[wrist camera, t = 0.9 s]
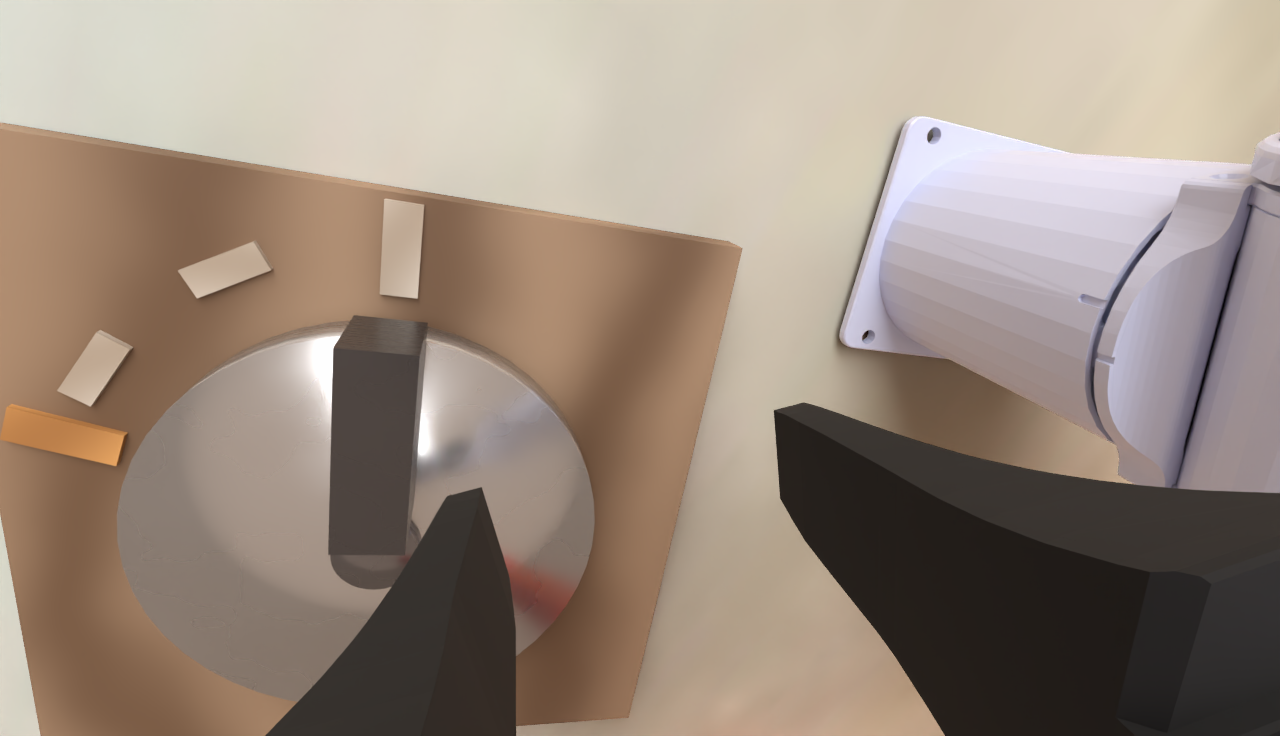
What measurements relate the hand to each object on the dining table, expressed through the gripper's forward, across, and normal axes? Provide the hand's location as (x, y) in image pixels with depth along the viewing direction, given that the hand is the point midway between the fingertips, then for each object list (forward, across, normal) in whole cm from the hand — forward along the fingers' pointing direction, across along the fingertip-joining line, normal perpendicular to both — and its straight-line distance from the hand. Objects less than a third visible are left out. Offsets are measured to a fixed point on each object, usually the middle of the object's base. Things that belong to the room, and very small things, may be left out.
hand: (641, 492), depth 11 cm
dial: (+8, +7, +4) cm, 12 cm away
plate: (+10, +7, +4) cm, 13 cm away
